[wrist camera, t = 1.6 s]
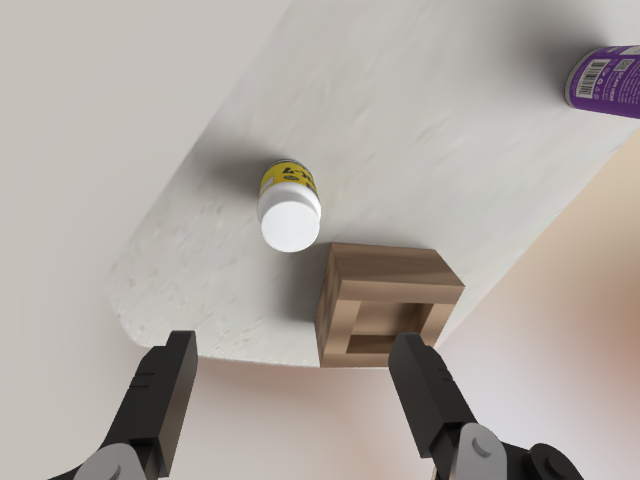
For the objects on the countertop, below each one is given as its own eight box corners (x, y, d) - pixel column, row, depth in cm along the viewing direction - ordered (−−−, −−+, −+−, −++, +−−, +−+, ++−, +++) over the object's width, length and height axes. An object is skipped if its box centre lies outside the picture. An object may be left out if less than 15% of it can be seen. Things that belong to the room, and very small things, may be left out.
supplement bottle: (323, 178, 27) (340, 220, 20) (294, 216, 29) (299, 268, 21) (279, 147, 25) (280, 181, 18) (251, 190, 27) (241, 237, 20)
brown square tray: (330, 240, 31) (342, 280, 25) (434, 248, 33) (465, 286, 28) (314, 321, 37) (320, 367, 31) (402, 323, 39) (422, 366, 34)
